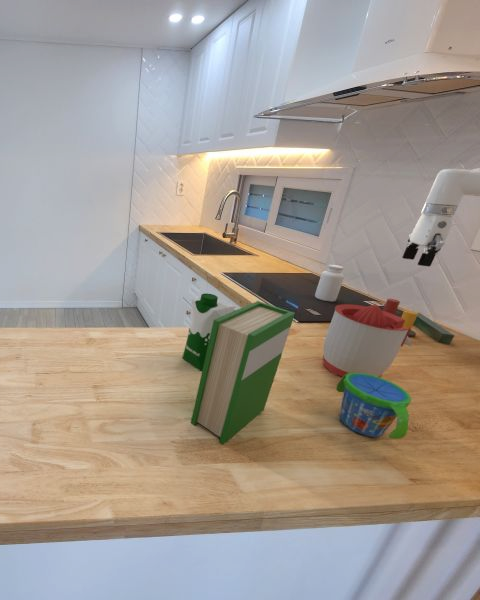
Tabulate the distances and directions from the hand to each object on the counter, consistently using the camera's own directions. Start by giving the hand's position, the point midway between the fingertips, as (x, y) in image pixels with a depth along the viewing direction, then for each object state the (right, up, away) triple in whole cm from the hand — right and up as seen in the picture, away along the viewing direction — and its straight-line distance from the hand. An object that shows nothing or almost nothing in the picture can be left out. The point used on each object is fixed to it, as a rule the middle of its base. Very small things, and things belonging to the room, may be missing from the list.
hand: (415, 262), depth 114 cm
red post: (+5, -20, +16) cm, 26 cm away
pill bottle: (-5, -12, +35) cm, 37 cm away
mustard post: (+1, -24, +6) cm, 25 cm away
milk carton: (-80, -30, -20) cm, 88 cm away
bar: (+12, -24, +8) cm, 28 cm away
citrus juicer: (-38, -33, -21) cm, 55 cm away
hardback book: (-81, -38, -40) cm, 99 cm away
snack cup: (-53, -40, -41) cm, 78 cm away
